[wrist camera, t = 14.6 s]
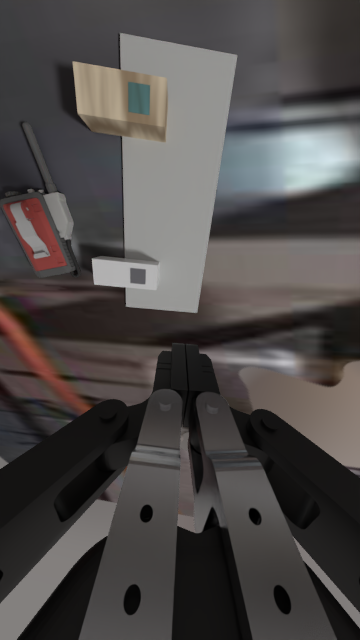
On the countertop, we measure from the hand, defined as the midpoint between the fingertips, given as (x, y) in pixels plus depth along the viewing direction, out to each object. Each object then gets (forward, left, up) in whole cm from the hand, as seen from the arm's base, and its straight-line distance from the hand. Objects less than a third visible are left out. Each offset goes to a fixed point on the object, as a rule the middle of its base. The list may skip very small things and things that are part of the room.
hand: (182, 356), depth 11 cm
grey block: (+3, 0, -22) cm, 23 cm away
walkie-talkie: (+22, -7, -25) cm, 34 cm away
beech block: (+3, -20, -22) cm, 30 cm away
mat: (+2, -10, -25) cm, 27 cm away
